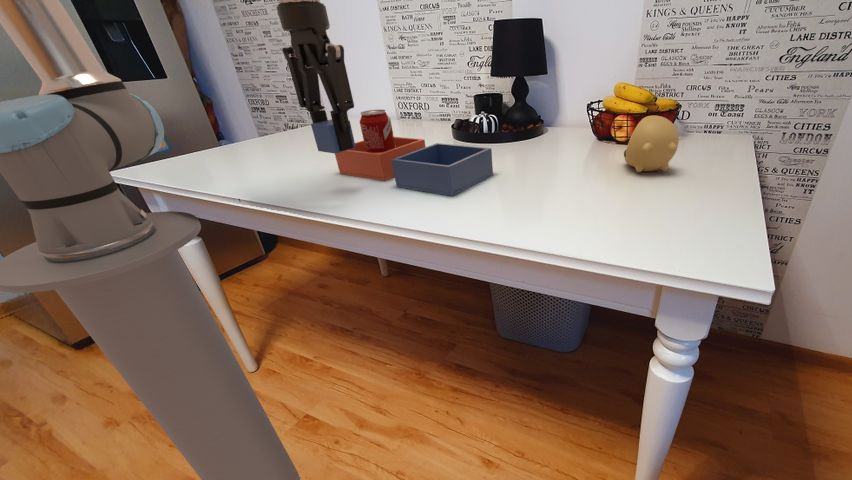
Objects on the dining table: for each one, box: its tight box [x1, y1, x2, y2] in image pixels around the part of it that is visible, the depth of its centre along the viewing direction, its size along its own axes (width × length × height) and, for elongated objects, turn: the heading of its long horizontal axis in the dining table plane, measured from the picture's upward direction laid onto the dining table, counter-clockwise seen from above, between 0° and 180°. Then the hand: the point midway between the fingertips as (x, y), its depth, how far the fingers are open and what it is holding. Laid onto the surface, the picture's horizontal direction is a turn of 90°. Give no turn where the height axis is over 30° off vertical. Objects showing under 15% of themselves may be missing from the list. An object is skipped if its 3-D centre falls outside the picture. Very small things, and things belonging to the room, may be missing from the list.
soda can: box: [359, 109, 396, 154], centre depth 91 cm, size 7×7×12 cm
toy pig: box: [623, 115, 680, 173], centre depth 81 cm, size 10×12×11 cm
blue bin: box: [391, 142, 494, 197], centre depth 83 cm, size 15×15×6 cm
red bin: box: [334, 136, 426, 182], centre depth 93 cm, size 15×15×6 cm
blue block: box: [310, 118, 356, 155], centre depth 76 cm, size 5×5×5 cm
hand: (336, 147), depth 77 cm, fingers closed on blue block, 5 cm apart
